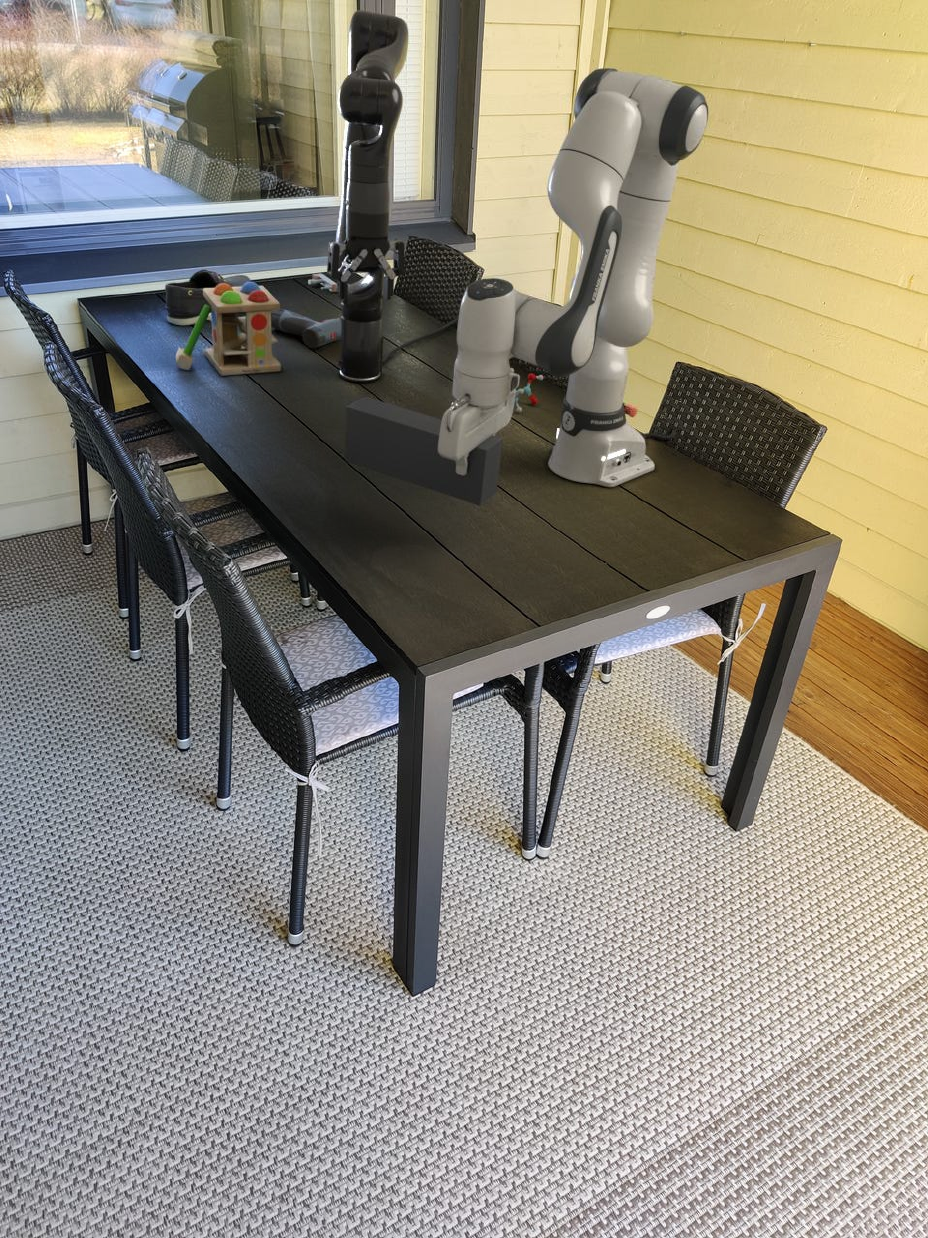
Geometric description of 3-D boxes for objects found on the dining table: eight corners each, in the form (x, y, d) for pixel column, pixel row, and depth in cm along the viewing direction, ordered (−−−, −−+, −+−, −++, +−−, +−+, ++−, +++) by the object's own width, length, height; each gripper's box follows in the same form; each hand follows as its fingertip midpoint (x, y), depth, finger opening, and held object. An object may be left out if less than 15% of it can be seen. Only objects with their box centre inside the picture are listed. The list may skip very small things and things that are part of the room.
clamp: (303, 274, 289) (334, 272, 294) (303, 281, 290) (334, 279, 295) (323, 288, 279) (355, 286, 283) (323, 296, 280) (355, 294, 285)
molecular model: (539, 404, 216) (525, 360, 215) (500, 418, 220) (486, 375, 218) (551, 402, 227) (538, 360, 225) (514, 416, 230) (501, 374, 229)
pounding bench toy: (183, 379, 220) (176, 299, 210) (169, 357, 231) (162, 280, 221) (282, 371, 230) (280, 294, 220) (264, 350, 240) (262, 276, 230)
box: (344, 460, 173) (346, 406, 167) (363, 449, 177) (365, 396, 172) (480, 506, 163) (486, 450, 158) (496, 493, 168) (503, 438, 162)
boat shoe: (273, 303, 272) (271, 265, 267) (185, 327, 248) (181, 285, 243) (238, 295, 278) (236, 257, 272) (149, 317, 254) (144, 276, 249)
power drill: (305, 316, 264) (364, 334, 256) (257, 332, 251) (318, 351, 243) (305, 296, 261) (365, 314, 253) (257, 311, 248) (318, 330, 240)
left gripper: (337, 212, 167) (336, 308, 176) (413, 211, 173) (408, 303, 182) (322, 202, 172) (321, 295, 181) (396, 201, 178) (392, 291, 187)
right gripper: (467, 410, 147) (460, 493, 155) (524, 373, 163) (515, 450, 170) (431, 400, 149) (425, 482, 157) (490, 364, 165) (483, 440, 173)
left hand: (365, 299), depth 181 cm, fingers open, 8 cm apart
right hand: (472, 465), depth 164 cm, fingers closed on box, 6 cm apart
